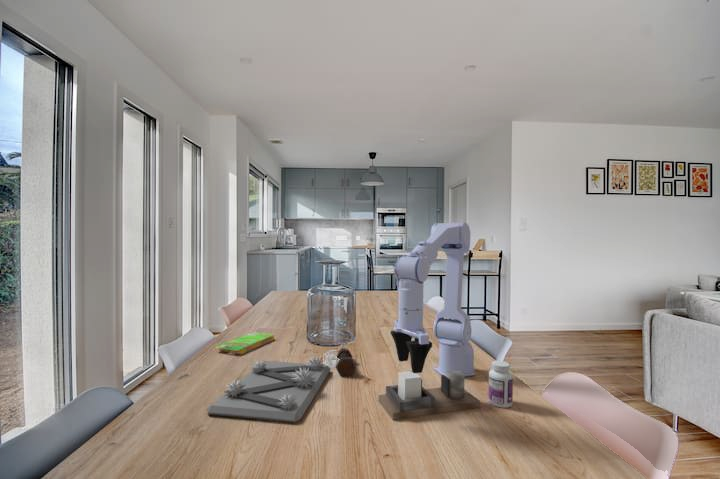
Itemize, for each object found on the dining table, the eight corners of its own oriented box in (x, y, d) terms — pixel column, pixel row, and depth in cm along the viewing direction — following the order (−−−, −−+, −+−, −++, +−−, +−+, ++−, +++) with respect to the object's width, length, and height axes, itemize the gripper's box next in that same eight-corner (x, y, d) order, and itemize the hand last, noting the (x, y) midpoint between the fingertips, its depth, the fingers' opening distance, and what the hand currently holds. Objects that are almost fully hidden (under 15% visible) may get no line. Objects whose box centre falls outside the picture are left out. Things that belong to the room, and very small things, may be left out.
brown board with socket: (458, 391, 90) (458, 365, 90) (480, 407, 82) (480, 379, 82) (378, 401, 84) (378, 374, 84) (392, 420, 75) (393, 390, 75)
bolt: (345, 364, 114) (348, 381, 99) (332, 356, 114) (333, 372, 99) (354, 348, 114) (358, 363, 99) (341, 340, 114) (343, 354, 99)
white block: (415, 395, 84) (415, 370, 84) (422, 403, 80) (423, 377, 80) (397, 397, 83) (398, 372, 83) (404, 405, 79) (405, 378, 79)
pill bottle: (503, 397, 87) (503, 358, 87) (517, 407, 82) (517, 366, 82) (483, 399, 86) (484, 360, 86) (496, 409, 81) (497, 367, 81)
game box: (274, 342, 133) (237, 356, 114) (253, 340, 137) (214, 353, 118) (274, 334, 134) (238, 347, 114) (253, 332, 137) (214, 343, 118)
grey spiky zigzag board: (261, 367, 106) (262, 344, 106) (331, 372, 103) (331, 348, 103) (203, 418, 76) (204, 385, 76) (299, 427, 73) (299, 393, 73)
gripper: (383, 303, 87) (382, 357, 88) (408, 315, 74) (407, 380, 74) (409, 302, 90) (408, 355, 90) (438, 314, 76) (437, 376, 76)
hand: (409, 366), depth 82 cm, fingers open, 7 cm apart
